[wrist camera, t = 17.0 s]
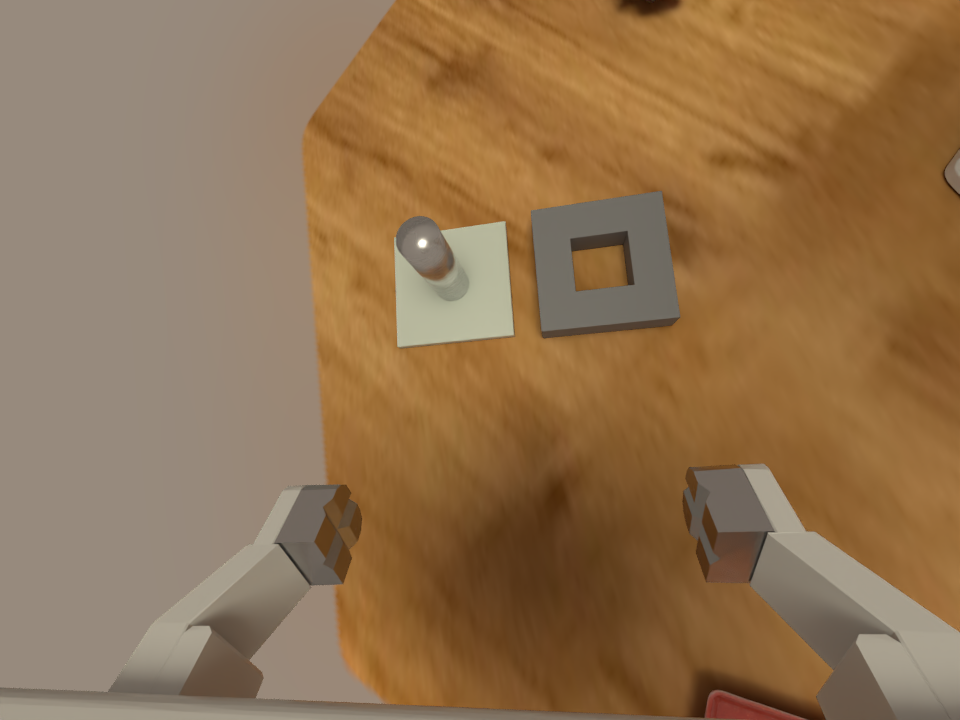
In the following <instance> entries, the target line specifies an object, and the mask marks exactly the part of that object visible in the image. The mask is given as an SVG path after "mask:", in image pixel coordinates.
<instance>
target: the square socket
mask: <svg viewBox="0 0 960 720" xmlns="http://www.w3.org/2000/svg"><path fill="white" fill-rule="evenodd" d="M531 219H532V230H533V241H534V252H535V263H536V274H537V285H538V297H539V308H540V319H541V330H542V336H543V338H550V337H560V336H570V335H580V334H590V333H600V332H610V331H620V330H630V329H640V328H650V327H660V326H670V325H673V324H674V323H675V322H676V321H677V320H678V319H679V318H680V312H679V305H678V298H677V292H676V285H675V278H674V271H673V265H672V258H671V251H670V244H669V238H668V231H667V224H666V217H665V210H664V204H663V197H662V191H658V192H651V193H645V194H638V195H632V196H625V197H618V198H612V199H605V200H598V201H592V202H585V203H578V204H572V205H565V206H558V207H552V208H545V209H538V210H532V211H531ZM622 244H623V247H624V255H625V263H626V271H627V279H628V286H619V287H611V288H602V289H594V290H585V291H577V292H576V290H575V281H574V271H573V262H572V252H571V251H577V250H585V249H592V248H600V247H607V246H615V245H622Z"/></svg>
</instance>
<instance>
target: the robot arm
mask: <svg viewBox="0 0 960 720" xmlns="http://www.w3.org/2000/svg"><path fill="white" fill-rule="evenodd" d="M945 177H946V179H947V181H948V182H949V184H950V185H951V186H952V187H953V188H954V189H955V190H956V191H957V192H958V193H959V194H960V149H959V150H958V152H957V153H956V155H955V156H954V157H953V159H952V160H951V161H950V163H949V164H948V166H947V167H946V169H945ZM685 479H686V481H687V484H688V488H687V489H686V490H684V492H683V512H684V517H685V521H686V525H687V528H688V531H689V534H691V535H692V536H693V537H694V538H695V539H696V540H698V543H697V549H696V554H697V557H698V560H699V563H700V566H701V569H702V572H703V574H704V577H705V580H706V582H721V583H750V586H751V587H752V588H753V589H754V590H755V591H756V592H757V593H758V594H759V595H760V596H761V597H762V598H763V599H764V600H765V601H766V602H767V603H768V604H769V605H770V606H771V607H772V608H773V609H774V610H775V611H776V612H777V613H778V614H779V615H780V616H781V617H782V618H783V620H784V621H785V622H786V623H787V624H788V625H789V626H790V627H791V628H792V629H793V630H794V631H795V632H796V633H797V634H798V635H799V636H800V637H801V638H802V639H803V640H804V641H805V642H806V643H807V644H808V645H809V646H810V647H811V648H812V649H813V650H814V651H815V652H816V653H817V654H818V655H819V656H820V657H821V658H822V659H823V660H824V661H825V662H826V663H827V664H828V665H829V666H830V667H831V668H832V669H833V670H834V671H833V672H832V674H831V675H830V676H829V678H828V679H827V681H826V682H825V684H824V685H823V686H822V688H821V689H820V691H819V693H818V694H817V696H816V698H817V700H818V702H819V705H820V707H821V709H822V711H823V714H824V716H825V718H826V720H960V632H958V631H957V630H956V629H954V628H953V627H951V626H950V625H948V624H947V623H945V622H944V621H943V620H941V619H940V618H938V617H937V616H935V615H934V614H932V613H931V612H930V611H928V610H927V609H925V608H924V607H922V606H921V605H920V604H918V603H917V602H915V601H914V600H912V599H911V598H909V597H908V596H907V595H905V594H904V593H902V592H901V591H899V590H898V589H897V588H895V587H894V586H892V585H891V584H889V583H888V582H886V581H885V580H884V579H882V578H881V577H879V576H878V575H876V574H875V573H874V572H872V571H871V570H869V569H868V568H866V567H865V566H863V565H862V564H861V563H859V562H858V561H856V560H855V559H853V558H852V557H851V556H849V555H848V554H846V553H845V552H843V551H842V550H840V549H839V548H838V547H836V546H835V545H833V544H832V543H830V542H829V541H828V540H826V539H825V538H823V537H822V536H820V535H819V534H817V533H816V532H806V530H805V528H804V527H803V525H802V523H801V522H800V520H799V518H798V516H797V515H796V513H795V511H794V510H793V508H792V506H791V505H790V503H789V501H788V500H787V498H786V496H785V494H784V493H783V491H782V489H781V488H780V486H779V484H778V483H777V481H776V479H775V478H774V476H773V474H772V473H771V471H770V469H769V468H768V467H767V466H766V465H765V464H747V465H720V466H703V467H689V468H688V470H687V472H686V478H685ZM350 495H351V492H350V490H349V488H348V487H347V485H302V486H288V487H287V488H286V489H284V490H283V491H282V493H281V495H280V497H279V499H278V500H277V502H276V504H275V506H274V508H273V509H272V511H271V513H270V515H269V516H268V518H267V520H266V522H265V524H264V526H263V527H262V529H261V531H260V533H259V535H258V536H257V538H256V540H255V542H254V544H251V545H247V546H246V547H244V548H243V549H242V550H241V551H239V552H238V553H237V554H236V555H235V556H233V557H232V558H231V559H230V560H229V561H228V562H226V563H225V564H224V565H222V566H221V567H220V568H219V569H218V570H217V571H215V572H214V573H213V574H212V575H211V576H209V577H208V578H207V579H206V580H204V581H203V582H202V583H201V584H199V585H198V586H197V587H196V588H195V589H193V590H192V591H191V592H190V593H189V594H188V595H186V596H185V597H184V598H182V599H181V600H180V601H179V602H178V603H176V604H175V605H174V606H173V607H172V608H170V609H169V610H168V611H167V612H166V613H164V614H163V615H162V616H161V617H160V618H158V619H157V620H156V621H155V622H153V623H152V625H151V626H150V628H149V629H148V631H147V633H146V634H145V636H144V637H143V639H142V640H141V642H140V643H139V645H138V646H137V648H136V650H135V651H134V653H133V654H132V656H131V657H130V659H129V660H128V662H127V663H126V665H125V666H124V668H123V669H122V671H121V673H120V674H119V676H118V677H117V679H116V680H115V682H114V683H113V685H112V686H111V688H110V689H109V691H108V692H96V691H73V690H46V689H22V688H0V720H740V719H717V718H694V717H671V716H648V715H625V714H602V713H580V712H557V711H534V710H511V709H488V708H465V707H442V706H419V705H396V704H373V703H372V704H371V703H350V702H327V701H304V700H303V701H302V700H279V699H257V698H256V696H257V693H258V691H259V688H260V686H261V683H262V680H263V674H262V672H261V671H260V670H259V669H258V668H257V667H256V666H255V665H253V664H252V663H251V662H250V661H249V660H250V659H251V657H252V656H253V655H254V654H255V653H256V652H257V650H258V649H259V648H260V647H261V646H262V645H263V643H264V642H265V641H266V640H267V639H268V638H269V636H270V635H271V634H272V633H273V632H274V631H275V629H276V628H277V627H278V626H279V625H280V623H281V622H282V621H283V620H284V619H285V617H286V616H287V615H288V614H289V613H290V612H291V611H292V609H293V608H294V607H295V606H296V605H297V604H298V602H299V601H300V600H301V599H302V598H303V597H304V595H305V594H306V593H307V592H308V591H309V590H310V588H311V586H310V585H336V584H343V583H344V580H345V577H346V574H347V571H348V568H349V565H350V563H351V560H352V557H351V554H350V551H349V549H350V548H351V547H352V546H353V545H354V544H355V543H356V542H357V541H358V539H359V536H360V533H361V526H362V516H361V511H360V508H359V506H358V504H356V503H355V502H353V501H352V500H350V499H349V498H350Z"/></svg>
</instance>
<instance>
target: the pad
mask: <svg viewBox="0 0 960 720" xmlns="http://www.w3.org/2000/svg"><path fill="white" fill-rule="evenodd" d="M441 233H442V234H443V236H444V238H445V239H446V241H447V243H448V244H449V246H450V248H451V249H452V251H453V253H454V254H455V256H456V258H457V259H458V261H459V263H460V264H461V266H462V268H463V269H464V271H465V272H466V274H467V276H468V278H469V288H468V291H467V293H466V294H465V295H464V296H463V297H462V298H460V299H459V300H456V301H446V300H444V299H442V298H441V297H440V296H439V295H438V294H437V293H436V292H435V291H434V290H433V289H432V288H431V287H430V285H429V284H428V283H427V282H426V281H425V280H424V279H423V278H422V277H421V276H420V274H419V273H418V272H417V271H416V270H415V269H414V268H413V267H412V266H411V264H410V263H409V262H408V261H407V260H406V259H405V258H404V257H403V256H402V255H401V253H400V252H399V251H398V249H397V246H396V238H394V246H395V279H396V312H397V345H398V347H399V348H409V347H419V346H429V345H439V344H448V343H458V342H468V341H478V340H488V339H498V338H507V337H515V334H514V321H513V308H512V295H511V283H510V270H509V257H508V244H507V232H506V223H505V221H504V222H497V223H490V224H484V225H477V226H470V227H463V228H456V229H450V230H443V231H441Z"/></svg>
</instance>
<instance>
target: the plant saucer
mask: <svg viewBox="0 0 960 720" xmlns="http://www.w3.org/2000/svg"><path fill="white" fill-rule="evenodd" d="M704 718H717V719H740V720H808V719H805V718H802V717H799V716H796V715H793V714H790V713H787V712H784V711H781V710H778V709H775V708H772V707H769V706H766V705H764V704H761V703H758V702H755V701H752V700H749V699H746V698H743V697H740V696H737V695H734V694H731V693H728V692H725V691H722V690H713V691H712V692H711V693H710V694H709V696H708V699H707V705H706V711H705V717H704Z"/></svg>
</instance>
